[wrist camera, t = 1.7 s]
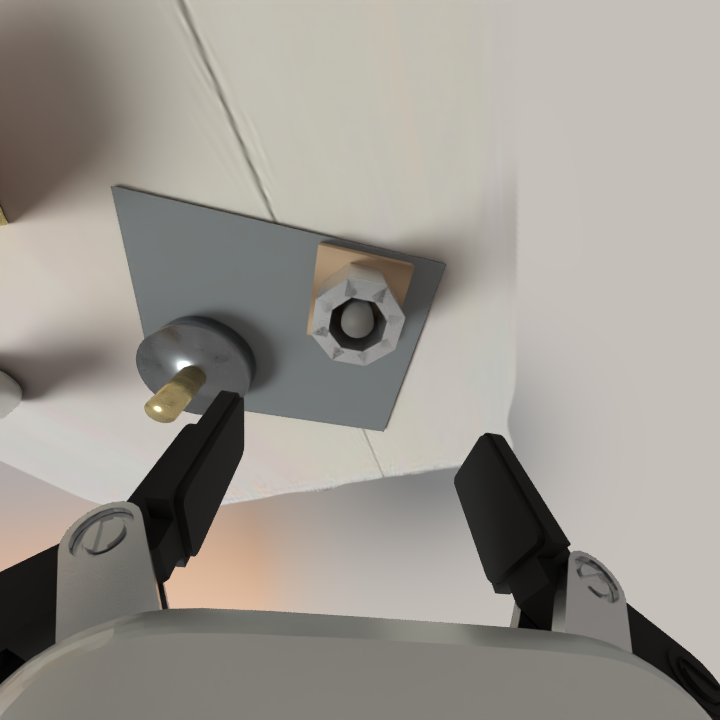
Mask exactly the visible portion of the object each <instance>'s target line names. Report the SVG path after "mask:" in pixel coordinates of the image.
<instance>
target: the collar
mask: <svg viewBox="0 0 720 720" xmlns="http://www.w3.org/2000/svg"><path fill="white" fill-rule="evenodd" d="M351 297H353V298H357V299H362V300H367V301H372V302H376V304H377V306H378V307H379V310H378V313H377V316H376V317H374V318H373V320H374V325H373V329H372V330H371V332H370V333H369V334H368V335H366V336H364V337H361V338H354V337H350V336H349V335H347V334H346V333H345V332H344V331H343V329H342V326H341V317H340V316H339V314H338V313H337V312H336V310H335V309H334V308H336V307H337V306H339V305H340V304H342V303H344V302H345V301H347V300H348V299H350V298H351ZM404 321H405V316H404V313H403V311H402V309H401V306H400V304H399V301H398V299H397V297H396V295H395V293H394V291H393V290H392V288H391V286H390V284H389V283H388V281H387V279H386V277H385V276H384V274H383V272H382V271H381V270H380V269H376V268H372V267H367V266H363V265H358V264H354V263H348V264H347V265H345V266H344V267H342V268H341V269H339V270H338V271H336V272H335V273H333V274H332V275H330V276H329V277H327V278H326V279H325V280H323V282H322V285H321V287H320V290H319V292H318V295H317V297H316V301H315V308H314V315H313V323H312V330H311V335H312V336H313V337H314V338H315V340H316V341H317V342H318V343H319V344H320V346H321V347H322V348H323V349H324V351H325V352H326V353H327V354H328V355H329V357H330V358H331V359H332V360H335V361H341V362H346V363H352V364H358V365H363V366H366V365H368V364H370V363H372V362H374V361H375V360H377V359H379V358H381V357H383V356H385V355H386V354H388V353H390V352H392V351H394V350H395V348H396V345H397V342H398V339H399V336H400V333H401V330H402V327H403V324H404Z"/></svg>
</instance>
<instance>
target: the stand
mask: <svg viewBox="0 0 720 720" xmlns="http://www.w3.org/2000/svg"><path fill="white" fill-rule="evenodd" d="M348 263H354V264H358V265H363V266H367V267H372V268H376V269H380V270H381V271H382V272H383V274H384V276H385V277H386V279H387V281H388V283H389V284H390V286H391V288H392V290H393V291H394V293H395V295H396V297H397V299H398V301H399V304H400V306H401V309H402V306H403V303H404V299H405V296H406V293H407V290H408V287H409V284H410V280H411V277H412V274H413V271H414V268H415V267H414V265H413V264H412V263H410V262H405V261H401V260H397V259H392V258H388V257H384V256H379V255H375V254H371V253H367V252H362V251H358V250H354V249H349V248H345V247H341V246H336V245H332V244H328V243H324V242H320V243H319V244H318V250H317V258H316V265H315V273H314V281H313V289H312V297H311V304H310V312H309V320H308V328H307V335H311V330H312V323H313V315H314V308H315V301H316V297H317V295H318V292H319V290H320V287H321V285H322V282H323V280H325V279H326V278H327V277H329V276H330V275H332V274H333V273H335V272H336V271H338V270H339V269H341V268H342V267H344V266H345V265H347V264H348ZM334 309H335V310H336V312H337V313H338V314H339V316H340V317H341V326H342V329H343V331H344V332H345V333H346V334H347V335H349V336H350V337H354V338H361V337H364V336H366V335H368V334H369V333H370V332H371V330H372V329H373V325H374V320H373V318H374V317H376V316H377V313H378V310H379V307H378V306H377V304H376V302H372V301H367V300H362V299H357V298H353V297H351V298H350V299H348V300H347V301H345V302H344V303H342V304H340V305H339V306H337V307H336V308H334Z"/></svg>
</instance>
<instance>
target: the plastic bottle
mask: <svg viewBox="0 0 720 720" xmlns="http://www.w3.org/2000/svg"><path fill="white" fill-rule="evenodd" d="M21 398H22V390H21V388H20V386H19V385H18V383H17V382H16V381H15V380H14V379H13V378H11V377H10V376H9V375H7V374H5V373H4V372H2V371H0V419H2V418H4V417H5V416H6V415H8V414H9V413H10V412H11V411H12V410H14V409H15V408H16V407H17V406H18V405H19V403H20V401H21Z"/></svg>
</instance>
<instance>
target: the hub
mask: <svg viewBox="0 0 720 720" xmlns="http://www.w3.org/2000/svg"><path fill="white" fill-rule="evenodd" d="M136 363H137V368H138V371H139V374H140V376H141V378H142V380H143V381H144V383H145V384H146V385H147V387H148V388H149V389H150V390H151V391H152V392H153V393H154V394H155V395H154V396H153V397H152V398H151V399H150V400H149V401H148V402H147V403H146V404H145V406H144V409H145V412H146V414H147V415H148V416H149V417H150V418H152V419H154V420H155V421H158V422H162V423H170V422H173V421H174V420H175V419H176V418H177V417H178V416H179V414H180V413H181V412H182V411H186V412H189V413H193V414H199V415H203V414H204V413H205V412H206V410H207V409H208V407H209V406H210V405H211V403H212V402H213V401H214V399H215V398H216V396H217V395H218V394H219V392H220V391H222V390H224V391H230V392H237V393H239V396H240V397H242V398H244V396H245V394H246V393H247V391H248V389H249V387H250V386H251V384H252V382H253V380H254V378H255V375H256V360H255V357H254V354H253V352H252V350H251V348H250V346H249V345H248V343H247V342H246V341H245V340H244V339H243V337H242V336H241V335H239V334H238V333H237V332H236V331H235V330H233V329H232V328H230V327H229V326H227V325H226V324H224V323H221V322H219V321H217V320H214V319H211V318H207V317H202V316H184V317H180V318H177V319H174V320H172V321H171V322H169V323H167V324H166V325H164V326H163V327H161V328H160V329H158V330H157V331H155V332H154V333H152V334H151V335H149V336H148V337H146V338H145V339H144V340H143V341H142V343H141V344H140V346H139V348H138V350H137V355H136Z"/></svg>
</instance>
